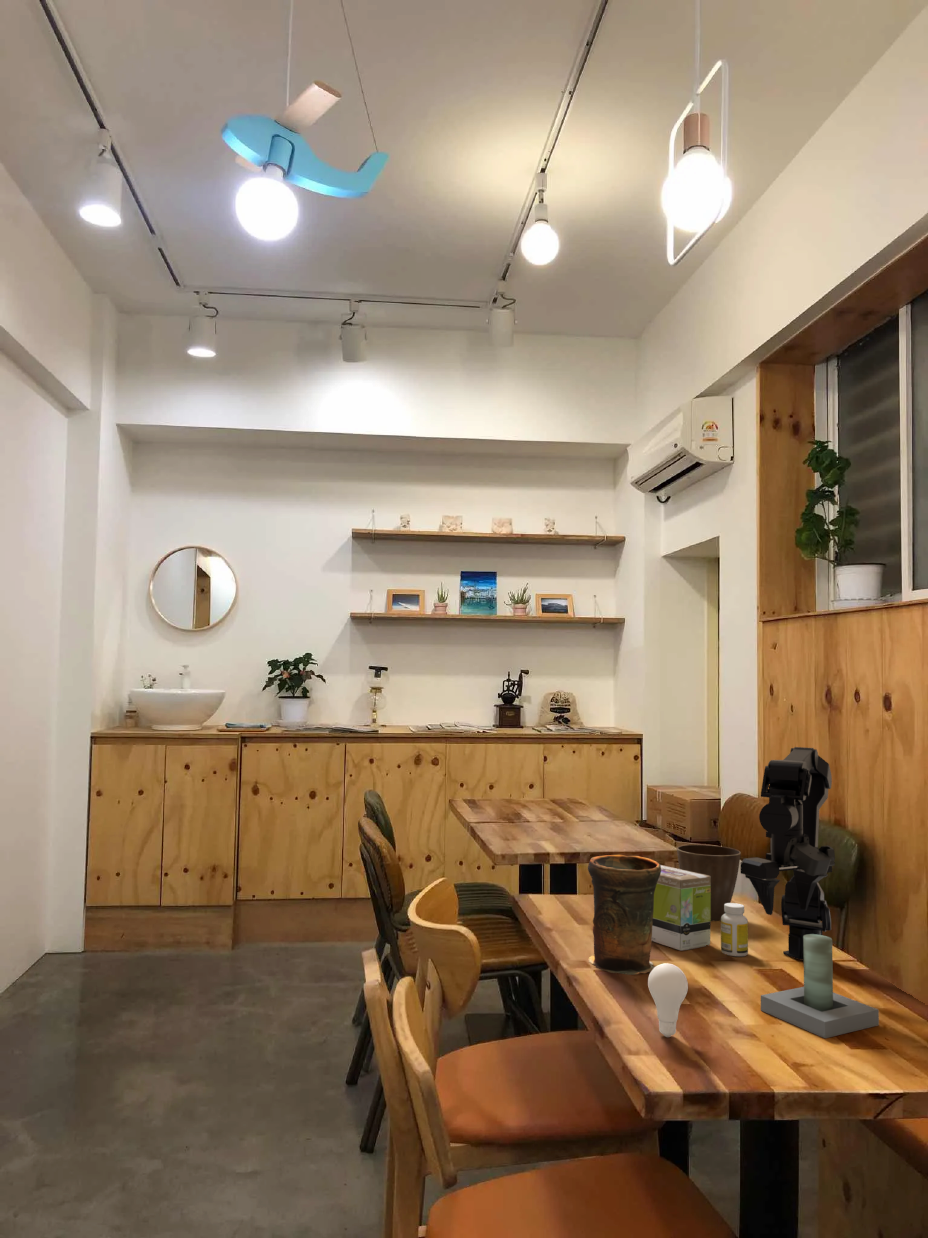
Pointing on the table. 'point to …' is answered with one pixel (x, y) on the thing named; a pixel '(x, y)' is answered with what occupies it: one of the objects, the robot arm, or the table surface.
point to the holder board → (820, 1013)
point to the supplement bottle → (734, 930)
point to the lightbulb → (667, 995)
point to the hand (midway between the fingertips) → (786, 912)
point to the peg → (818, 972)
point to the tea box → (682, 909)
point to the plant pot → (713, 871)
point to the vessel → (623, 912)
